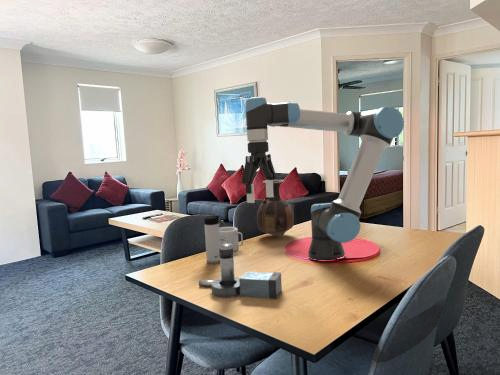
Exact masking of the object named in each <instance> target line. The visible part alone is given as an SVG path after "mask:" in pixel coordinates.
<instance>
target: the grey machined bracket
mask: <svg viewBox="0 0 500 375" xmlns="http://www.w3.org/2000/svg"><path fill="white" fill-rule="evenodd" d="M198 286H200V287H211V293H212V296H215V297H217V298H223V299H224V298H235V297H246V298H256V299H257V298H258V299H259V298H260V299H271V300H277V299H278V298H279V296H280V294H281V293H282V291H283V289H282V272H280V271H279V272H275V271H274V272H265V271H264V272H263V271H247V270H245V272H243V274H242V275H241V276H240V277H239V276H235V284H234V285H230V286H222V282H221V277H219V278H216V279H214V280H208V279H207V280H206V279H200V280H199V281H198Z"/></svg>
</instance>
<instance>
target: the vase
mask: <svg viewBox="0 0 500 375" xmlns="http://www.w3.org/2000/svg"><path fill="white" fill-rule="evenodd" d="M285 181H286V180H285V179H275V180H273V195H274V197H267V199H265V198H264V199H263V200H262V201H261V204H260V205H259V207H258V209H257V213H256V224H257V228H258V230H259V231H261V232H262V233H265V234H268V235H271V236H273V237H275V238H276V237H279V236H284V235H285V234H286V233H287V232H288V231H290V230H291V229H292V228H293V226H294V221H295V220H294V218H295V217H294V213H293V209H292V207H291V206H290V204H289V202H287V201H286V200H285V199H283V198H282V197H281V195H280V187H281V184H282V183H284V182H285ZM262 183H263V184H266V180H263V181H262Z"/></svg>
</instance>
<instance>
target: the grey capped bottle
mask: <svg viewBox="0 0 500 375" xmlns="http://www.w3.org/2000/svg"><path fill="white" fill-rule="evenodd" d="M219 256H220V263H219V264H220V266H219V267H220V278H221V282H222V286H230V285H234V284H235V277H236V276H235V266H234V265H235V262H234V251H233V244H230V243H225V244H220V245H219Z"/></svg>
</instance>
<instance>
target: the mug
mask: <svg viewBox="0 0 500 375" xmlns="http://www.w3.org/2000/svg"><path fill="white" fill-rule="evenodd" d="M219 230H220V244H225V243H230V244H233V252H236V251H238V250H239V249H240V248H239V247H242V246H243V245H244V240H243V237H244V236H243V233H242V232H240V231H239V229H238V227H236V226H222V227H219ZM239 235H240V241H241V244H239V243H240V242H239Z"/></svg>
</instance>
